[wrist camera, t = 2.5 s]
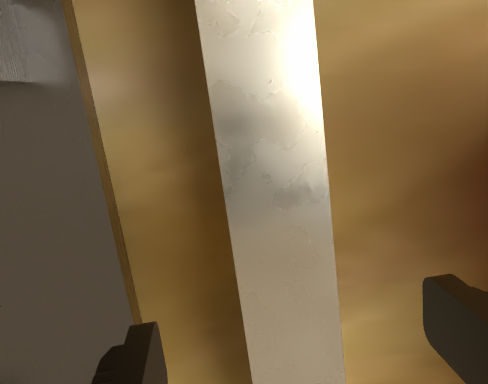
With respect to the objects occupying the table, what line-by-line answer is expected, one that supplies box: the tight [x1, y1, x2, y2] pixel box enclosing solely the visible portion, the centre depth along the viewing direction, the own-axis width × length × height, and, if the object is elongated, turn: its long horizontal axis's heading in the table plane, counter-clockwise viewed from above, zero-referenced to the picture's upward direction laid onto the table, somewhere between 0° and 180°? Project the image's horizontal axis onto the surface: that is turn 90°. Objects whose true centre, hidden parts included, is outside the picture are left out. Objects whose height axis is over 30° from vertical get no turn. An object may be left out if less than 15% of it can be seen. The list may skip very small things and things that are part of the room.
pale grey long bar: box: [194, 0, 346, 384], centre depth 18 cm, size 4×30×4 cm, turn 8°
